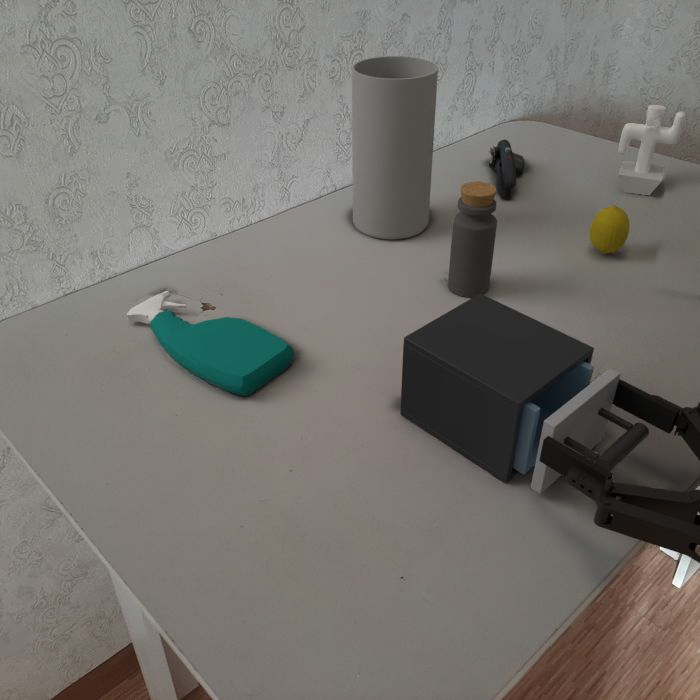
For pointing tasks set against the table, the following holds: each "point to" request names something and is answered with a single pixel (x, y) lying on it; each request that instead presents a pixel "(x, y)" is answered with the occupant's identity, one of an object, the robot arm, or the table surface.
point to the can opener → (506, 167)
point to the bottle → (473, 240)
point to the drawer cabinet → (482, 378)
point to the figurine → (647, 150)
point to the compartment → (574, 423)
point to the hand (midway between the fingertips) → (580, 417)
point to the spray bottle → (216, 346)
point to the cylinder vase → (392, 144)
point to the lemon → (609, 229)
